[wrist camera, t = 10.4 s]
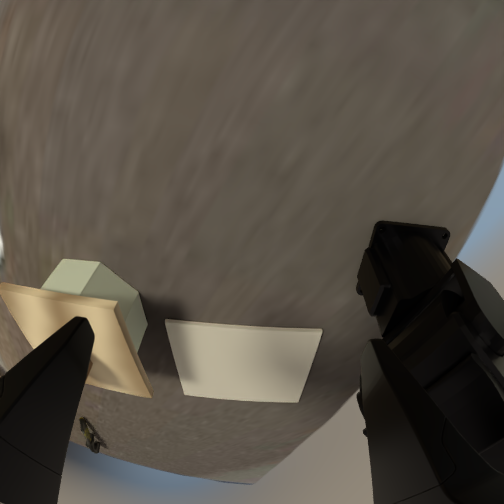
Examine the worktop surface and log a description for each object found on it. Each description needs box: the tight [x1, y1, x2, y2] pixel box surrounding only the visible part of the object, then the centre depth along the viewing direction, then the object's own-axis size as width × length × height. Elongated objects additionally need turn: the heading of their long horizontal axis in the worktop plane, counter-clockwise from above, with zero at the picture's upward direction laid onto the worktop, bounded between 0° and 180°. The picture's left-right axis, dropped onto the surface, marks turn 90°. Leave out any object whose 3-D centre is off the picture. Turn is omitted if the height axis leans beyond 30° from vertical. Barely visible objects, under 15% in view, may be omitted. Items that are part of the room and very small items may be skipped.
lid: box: [0, 282, 154, 398], centre depth 20 cm, size 12×12×5 cm
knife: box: [79, 417, 100, 453], centre depth 52 cm, size 23×2×5 cm, turn 164°
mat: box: [165, 319, 322, 402], centre depth 30 cm, size 14×14×1 cm
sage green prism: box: [41, 259, 148, 352], centre depth 24 cm, size 10×10×5 cm
